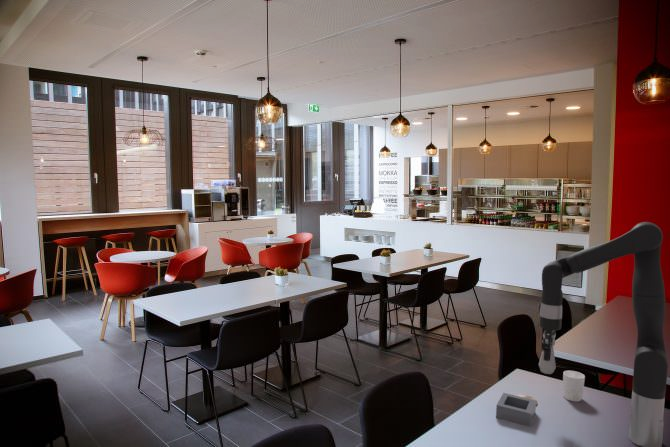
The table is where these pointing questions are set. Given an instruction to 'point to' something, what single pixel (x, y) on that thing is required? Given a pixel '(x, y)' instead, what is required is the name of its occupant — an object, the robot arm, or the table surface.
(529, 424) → the well
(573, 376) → the white cup
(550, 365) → the salt shaker
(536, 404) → the cork coaster
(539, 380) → the table surface
